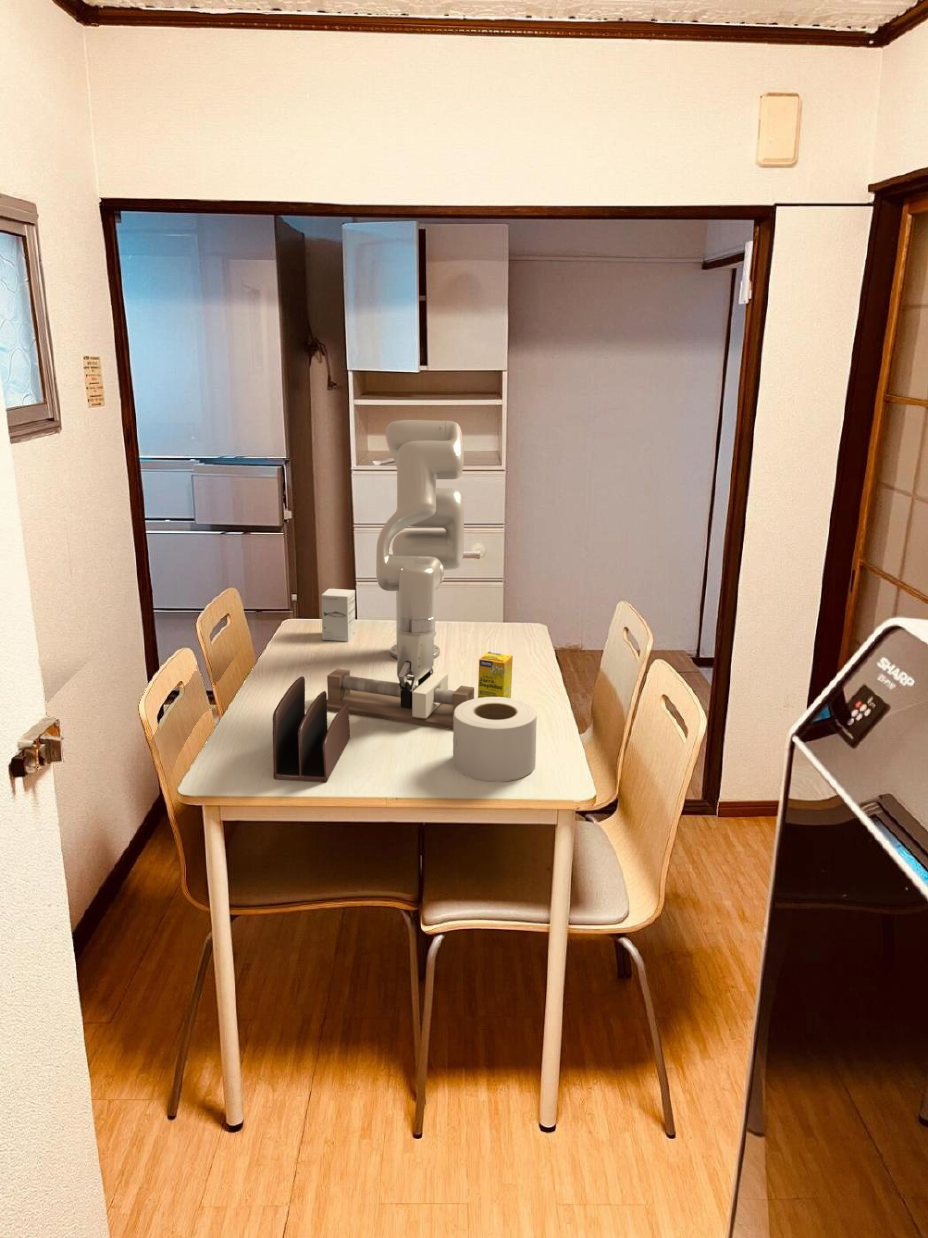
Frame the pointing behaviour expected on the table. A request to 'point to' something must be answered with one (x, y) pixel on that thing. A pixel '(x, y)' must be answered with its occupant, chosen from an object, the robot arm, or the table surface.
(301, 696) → the letter holder
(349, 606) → the supplement box
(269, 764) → the table surface
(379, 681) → the pipe stand
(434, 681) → the collar
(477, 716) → the white paper roll
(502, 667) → the supplement box
